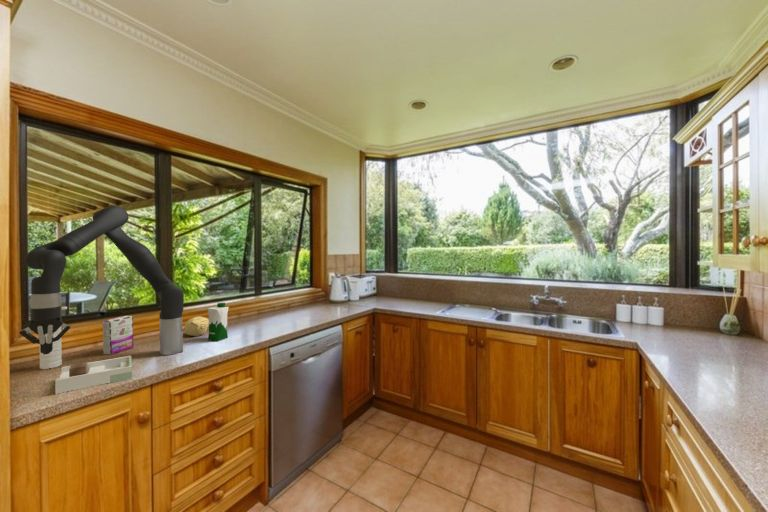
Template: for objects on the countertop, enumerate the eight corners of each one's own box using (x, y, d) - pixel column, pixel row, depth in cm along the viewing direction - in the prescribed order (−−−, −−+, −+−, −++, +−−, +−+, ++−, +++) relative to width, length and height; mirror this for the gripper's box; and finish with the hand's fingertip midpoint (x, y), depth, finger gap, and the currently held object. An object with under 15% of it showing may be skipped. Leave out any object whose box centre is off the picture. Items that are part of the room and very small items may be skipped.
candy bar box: (125, 346, 160) (125, 315, 160) (133, 347, 159) (133, 315, 159) (102, 354, 149) (101, 320, 149) (110, 355, 148) (110, 321, 148)
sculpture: (198, 338, 177) (198, 319, 176) (179, 336, 179) (179, 318, 178) (212, 332, 188) (212, 315, 188) (194, 331, 190) (194, 314, 190)
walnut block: (87, 373, 120) (87, 362, 120) (86, 377, 117) (86, 366, 116) (70, 376, 117) (70, 365, 117) (69, 381, 114) (69, 369, 113)
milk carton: (230, 337, 179) (230, 303, 178) (216, 342, 171) (216, 306, 170) (219, 335, 182) (219, 301, 182) (205, 340, 174) (205, 304, 173)
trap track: (131, 367, 135) (131, 355, 135) (132, 378, 123) (131, 366, 123) (62, 379, 121) (61, 367, 121) (55, 394, 110) (55, 380, 110)
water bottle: (44, 370, 129) (43, 311, 128) (36, 368, 132) (35, 309, 131) (71, 363, 137) (71, 307, 137) (63, 361, 140) (62, 305, 139)
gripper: (73, 302, 118) (73, 347, 118) (20, 305, 109) (21, 354, 110) (71, 305, 112) (71, 352, 113) (15, 309, 104) (15, 360, 104)
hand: (46, 353), depth 111 cm, fingers closed
